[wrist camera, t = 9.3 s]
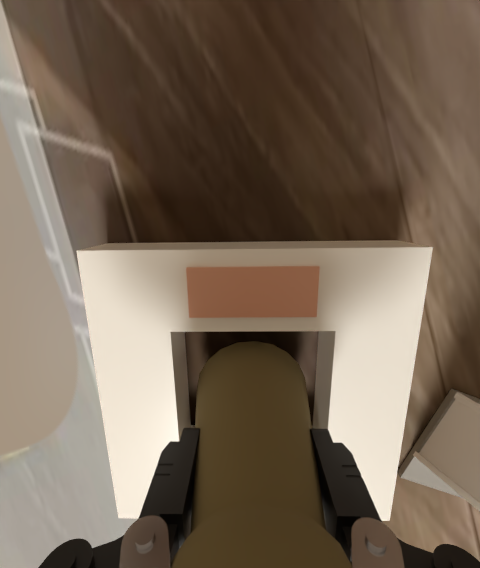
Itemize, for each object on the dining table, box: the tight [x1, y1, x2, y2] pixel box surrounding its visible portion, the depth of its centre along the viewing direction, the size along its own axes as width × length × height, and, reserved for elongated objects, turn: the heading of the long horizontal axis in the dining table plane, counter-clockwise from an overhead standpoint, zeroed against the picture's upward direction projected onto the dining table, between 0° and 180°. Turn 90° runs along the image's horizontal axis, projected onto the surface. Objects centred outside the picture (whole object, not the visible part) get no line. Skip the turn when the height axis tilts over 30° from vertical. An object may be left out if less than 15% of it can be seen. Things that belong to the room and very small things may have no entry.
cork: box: [171, 341, 353, 568], centre depth 10 cm, size 6×6×11 cm
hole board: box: [77, 240, 433, 521], centre depth 16 cm, size 16×16×3 cm
